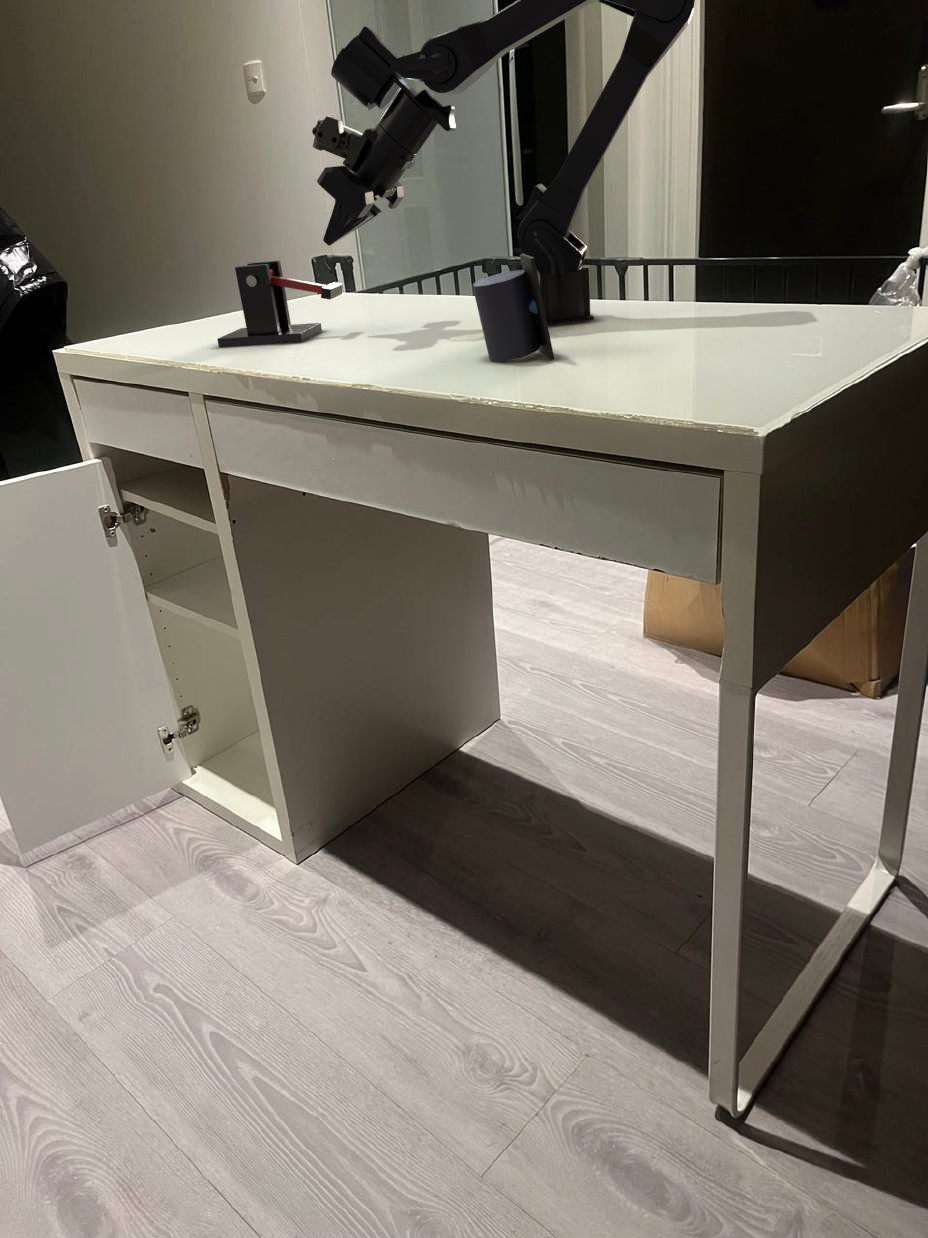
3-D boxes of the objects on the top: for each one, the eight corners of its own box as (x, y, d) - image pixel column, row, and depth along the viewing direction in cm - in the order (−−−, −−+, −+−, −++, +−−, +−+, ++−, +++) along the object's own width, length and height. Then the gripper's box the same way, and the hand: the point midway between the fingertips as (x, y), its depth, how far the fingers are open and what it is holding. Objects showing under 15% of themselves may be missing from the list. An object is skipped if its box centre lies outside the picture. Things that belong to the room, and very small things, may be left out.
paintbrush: (341, 298, 125) (343, 279, 123) (330, 303, 120) (331, 284, 119) (257, 282, 126) (257, 264, 125) (242, 288, 122) (242, 269, 120)
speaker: (560, 346, 101) (544, 247, 97) (554, 360, 97) (538, 256, 92) (493, 357, 103) (475, 260, 99) (484, 371, 99) (464, 270, 94)
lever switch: (322, 331, 129) (310, 256, 124) (302, 342, 122) (289, 263, 117) (242, 336, 131) (228, 263, 127) (218, 347, 124) (202, 270, 120)
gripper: (368, 92, 119) (302, 194, 126) (320, 86, 103) (248, 203, 110) (434, 154, 121) (365, 251, 128) (397, 157, 104) (321, 268, 112)
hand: (326, 242), depth 119 cm, fingers closed
